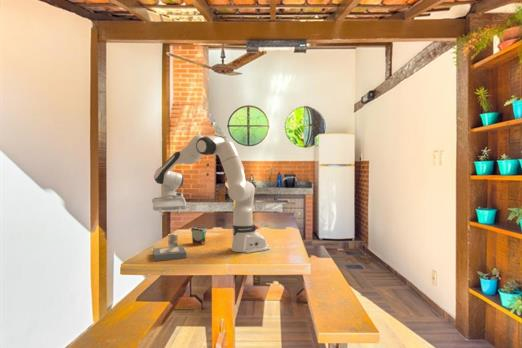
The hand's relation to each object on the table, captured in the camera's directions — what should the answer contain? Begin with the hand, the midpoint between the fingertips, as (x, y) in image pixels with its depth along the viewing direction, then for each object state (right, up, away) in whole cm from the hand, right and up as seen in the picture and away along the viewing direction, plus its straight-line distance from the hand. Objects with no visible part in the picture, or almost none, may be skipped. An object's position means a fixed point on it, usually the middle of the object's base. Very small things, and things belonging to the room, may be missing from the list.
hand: (170, 214), depth 211 cm
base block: (+6, -19, -27) cm, 33 cm away
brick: (+5, -19, -12) cm, 23 cm away
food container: (+18, -19, +3) cm, 26 cm away
